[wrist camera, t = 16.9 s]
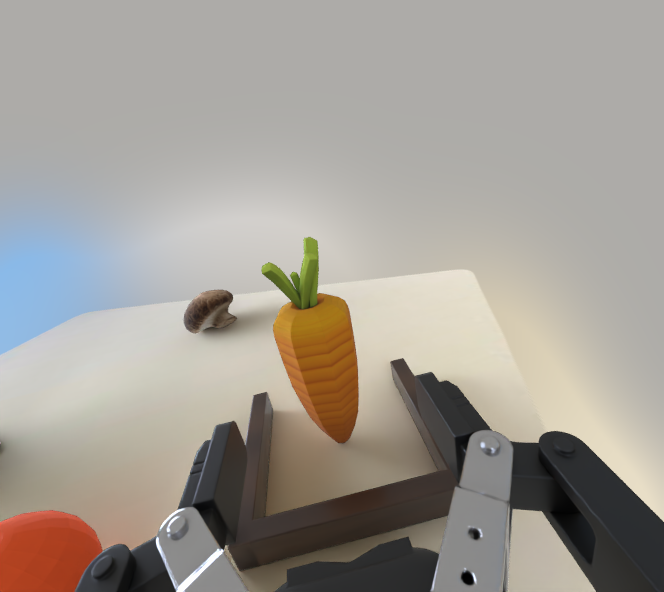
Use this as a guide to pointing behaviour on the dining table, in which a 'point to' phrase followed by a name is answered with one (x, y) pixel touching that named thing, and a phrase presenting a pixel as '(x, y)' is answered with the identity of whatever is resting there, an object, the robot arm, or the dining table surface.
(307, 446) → the dining table surface
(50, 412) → the dining table surface
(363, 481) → the dining table surface
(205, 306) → the mushroom
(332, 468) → the dining table surface
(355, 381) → the carrot
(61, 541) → the clementine
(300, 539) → the bay
